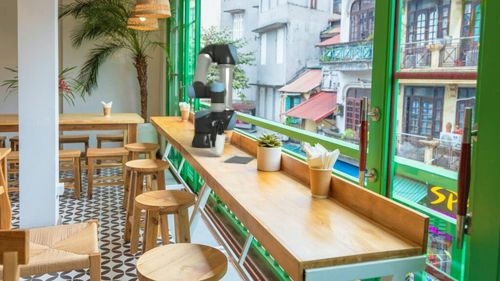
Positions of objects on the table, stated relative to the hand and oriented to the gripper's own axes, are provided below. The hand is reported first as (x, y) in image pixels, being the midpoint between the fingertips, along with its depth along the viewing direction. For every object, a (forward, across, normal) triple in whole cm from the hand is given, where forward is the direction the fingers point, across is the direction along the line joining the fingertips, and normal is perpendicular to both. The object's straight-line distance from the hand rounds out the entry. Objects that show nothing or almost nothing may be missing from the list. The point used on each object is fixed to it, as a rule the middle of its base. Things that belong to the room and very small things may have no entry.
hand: (217, 151), depth 255 cm
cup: (+2, 0, 0) cm, 2 cm away
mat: (+3, -5, -15) cm, 16 cm away
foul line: (+3, -4, -8) cm, 9 cm away
